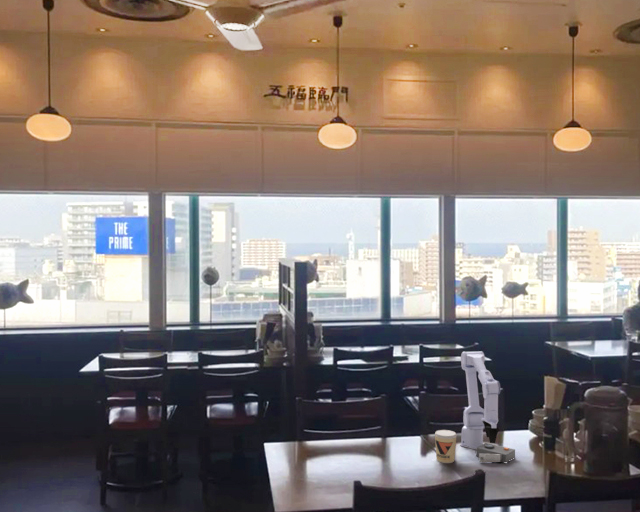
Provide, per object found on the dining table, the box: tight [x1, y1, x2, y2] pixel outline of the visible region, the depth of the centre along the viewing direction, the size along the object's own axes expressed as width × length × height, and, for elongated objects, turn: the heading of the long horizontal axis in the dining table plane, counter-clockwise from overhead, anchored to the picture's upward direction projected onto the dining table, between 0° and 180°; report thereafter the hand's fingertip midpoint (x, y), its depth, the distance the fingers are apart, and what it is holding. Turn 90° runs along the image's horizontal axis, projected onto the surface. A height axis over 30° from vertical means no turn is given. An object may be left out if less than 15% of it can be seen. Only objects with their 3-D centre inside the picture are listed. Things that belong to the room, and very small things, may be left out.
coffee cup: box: [434, 429, 457, 464], centre depth 277 cm, size 9×9×12 cm
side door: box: [478, 453, 502, 463], centre depth 273 cm, size 10×1×4 cm, turn 83°
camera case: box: [475, 442, 516, 463], centre depth 280 cm, size 14×9×5 cm, turn 48°
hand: (490, 439), depth 275 cm, fingers open, 7 cm apart
